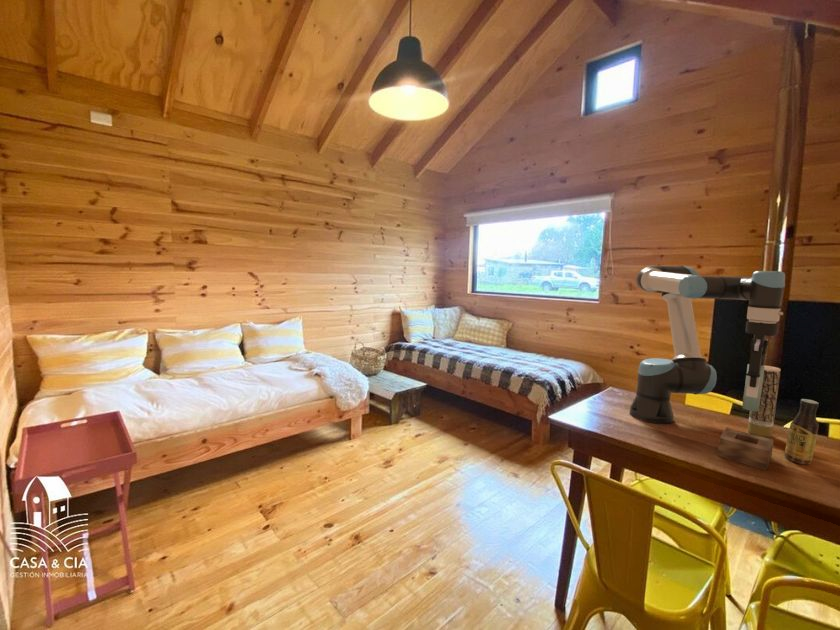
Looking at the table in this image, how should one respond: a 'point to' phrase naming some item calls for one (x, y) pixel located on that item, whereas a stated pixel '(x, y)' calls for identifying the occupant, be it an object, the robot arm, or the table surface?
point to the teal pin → (752, 402)
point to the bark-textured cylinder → (766, 404)
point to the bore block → (745, 448)
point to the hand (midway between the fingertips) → (752, 395)
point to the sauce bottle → (803, 433)
